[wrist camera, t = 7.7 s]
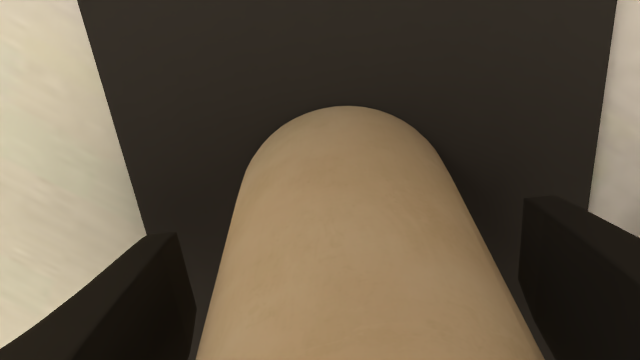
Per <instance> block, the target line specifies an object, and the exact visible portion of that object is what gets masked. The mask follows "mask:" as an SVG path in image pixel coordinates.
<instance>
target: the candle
mask: <svg viewBox="0 0 640 360" xmlns="http://www.w3.org/2000/svg"><path fill="white" fill-rule="evenodd" d="M196 360H545V359H544V357H543V355H542V353H541V351H540V349H539V347H538V345H537V344H536V342H535V340H534V338H533V336H532V334H531V332H530V330H529V328H528V326H527V324H526V322H525V320H524V318H523V316H522V314H521V312H520V310H519V308H518V306H517V304H516V303H515V301H514V299H513V297H512V295H511V293H510V291H509V289H508V287H507V285H506V283H505V281H504V279H503V277H502V275H501V273H500V271H499V269H498V267H497V265H496V264H495V262H494V260H493V258H492V256H491V254H490V252H489V250H488V248H487V246H486V244H485V242H484V240H483V238H482V236H481V234H480V232H479V230H478V228H477V226H476V224H475V223H474V221H473V219H472V217H471V215H470V213H469V211H468V209H467V207H466V205H465V203H464V201H463V199H462V197H461V195H460V193H459V191H458V189H457V187H456V185H455V183H454V182H453V180H452V178H451V176H450V174H449V172H448V170H447V169H446V167H445V165H444V163H443V162H442V160H441V158H440V157H439V155H438V153H437V152H436V150H435V149H434V148H433V146H432V145H431V144H430V143H429V142H428V140H427V139H426V138H424V137H423V136H422V135H421V134H420V133H419V132H418V131H417V130H416V129H414V128H413V127H412V126H410V125H409V124H407V123H406V122H404V121H403V120H401V119H399V118H397V117H395V116H393V115H391V114H388V113H385V112H382V111H379V110H376V109H371V108H366V107H358V106H334V107H329V108H323V109H318V110H315V111H312V112H309V113H306V114H303V115H301V116H299V117H297V118H295V119H293V120H291V121H289V122H288V123H286V124H285V125H283V126H281V127H280V128H279V129H278V130H277V131H275V132H274V133H273V134H272V135H271V136H270V137H269V138H268V139H267V140H266V141H265V142H264V143H263V144H262V145H261V147H260V148H259V150H258V151H257V152H256V154H255V155H254V157H253V158H252V160H251V162H250V164H249V165H248V167H247V169H246V172H245V175H244V178H243V181H242V184H241V187H240V190H239V194H238V197H237V200H236V204H235V208H234V212H233V216H232V220H231V224H230V228H229V232H228V235H227V239H226V243H225V247H224V251H223V255H222V259H221V263H220V266H219V270H218V274H217V278H216V282H215V286H214V290H213V294H212V298H211V301H210V305H209V309H208V313H207V317H206V321H205V325H204V329H203V332H202V336H201V340H200V344H199V348H198V352H197V356H196Z"/></svg>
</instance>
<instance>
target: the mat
mask: <svg viewBox="0 0 640 360" xmlns="http://www.w3.org/2000/svg"><path fill="white" fill-rule="evenodd" d="M77 1H78V5H79V8H80V11H81V15H82V18H83V22H84V25H85V28H86V32H87V35H88V38H89V42H90V45H91V48H92V52H93V55H94V59H95V62H96V65H97V69H98V72H99V75H100V79H101V82H102V85H103V89H104V92H105V96H106V99H107V102H108V106H109V109H110V112H111V116H112V119H113V123H114V126H115V129H116V133H117V136H118V139H119V143H120V146H121V149H122V153H123V156H124V160H125V163H126V166H127V170H128V173H129V176H130V180H131V183H132V187H133V190H134V193H135V197H136V200H137V203H138V207H139V210H140V213H141V217H142V220H143V224H144V227H145V230H146V234H147V235H148V234H156V233H167V232H177V235H178V239H179V243H180V246H181V250H182V254H183V258H184V261H185V265H186V269H187V273H188V276H189V280H190V284H191V288H192V291H193V295H194V299H195V303H196V306H197V312H196V319H195V326H194V333H193V339H192V344H191V350H190V354H189V358H188V360H196V356H197V352H198V348H199V344H200V340H201V336H202V332H203V329H204V325H205V321H206V317H207V313H208V309H209V305H210V301H211V298H212V294H213V290H214V286H215V282H216V278H217V274H218V270H219V266H220V263H221V259H222V255H223V251H224V247H225V243H226V239H227V235H228V232H229V228H230V224H231V220H232V216H233V212H234V208H235V204H236V200H237V197H238V194H239V190H240V187H241V184H242V181H243V178H244V175H245V172H246V169H247V167H248V165H249V164H250V162H251V160H252V158H253V157H254V155H255V154H256V152H257V151H258V150H259V148H260V147H261V145H262V144H263V143H264V142H265V141H266V140H267V139H268V138H269V137H270V136H271V135H272V134H273V133H274V132H275V131H277V130H278V129H279V128H280V127H281V126H283V125H285V124H286V123H288V122H289V121H291V120H293V119H295V118H297V117H299V116H301V115H303V114H306V113H309V112H312V111H315V110H318V109H323V108H329V107H334V106H358V107H366V108H371V109H376V110H379V111H382V112H385V113H388V114H391V115H393V116H395V117H397V118H399V119H401V120H403V121H404V122H406V123H407V124H409V125H410V126H412V127H413V128H414V129H416V130H417V131H418V132H419V133H420V134H421V135H422V136H423V137H424V138H426V139H427V140H428V142H429V143H430V144H431V145H432V146H433V148H434V149H435V150H436V152H437V153H438V155H439V157H440V158H441V160H442V162H443V163H444V165H445V167H446V169H447V170H448V172H449V174H450V176H451V178H452V180H453V182H454V183H455V185H456V187H457V189H458V191H459V193H460V195H461V197H462V199H463V201H464V203H465V205H466V207H467V209H468V211H469V213H470V215H471V217H472V219H473V221H474V223H475V224H476V226H477V228H478V230H479V232H480V234H481V236H482V238H483V240H484V242H485V244H486V246H487V248H488V250H489V252H490V254H491V256H492V258H493V260H494V262H495V264H496V265H497V267H498V269H499V271H500V273H501V275H502V277H503V279H504V281H505V283H506V285H507V287H508V289H509V291H510V293H511V295H512V297H513V299H514V301H515V303H516V304H517V306H518V308H519V310H520V312H521V314H522V316H523V318H524V320H525V322H526V324H527V326H528V328H529V330H530V332H531V334H532V336H533V338H534V340H535V342H536V344H537V345H538V347H539V349H540V351H541V353H542V355H543V357H544V359H545V360H555V358H554V356H553V355H552V353H551V351H550V349H549V347H548V346H547V344H546V342H545V340H544V338H543V337H542V335H541V333H540V331H539V329H538V327H537V326H536V324H535V322H534V320H533V317H532V315H531V312H530V310H529V307H528V305H527V302H526V300H525V297H524V294H523V292H522V289H521V286H520V284H519V281H518V270H519V257H520V243H521V230H522V217H523V204H524V198H530V197H540V196H550V195H555V196H558V197H560V198H562V199H565V200H567V201H569V202H571V203H573V204H575V205H577V206H579V207H581V208H583V209H585V210H587V211H588V204H589V197H590V190H591V182H592V175H593V168H594V161H595V154H596V147H597V140H598V132H599V125H600V118H601V111H602V104H603V97H604V89H605V82H606V75H607V68H608V61H609V54H610V46H611V39H612V32H613V25H614V18H615V11H616V4H617V0H77Z"/></svg>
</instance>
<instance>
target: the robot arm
mask: <svg viewBox="0 0 640 360" xmlns="http://www.w3.org/2000/svg"><path fill="white" fill-rule="evenodd" d="M518 281H519V284H520V286H521V289H522V292H523V294H524V297H525V300H526V302H527V305H528V307H529V310H530V312H531V315H532V317H533V320H534V322H535V324H536V326H537V327H538V329H539V331H540V333H541V335H542V337H543V338H544V340H545V342H546V344H547V346H548V347H549V349H550V351H551V353H552V355H553V356H554V358H555V360H640V238H638V237H636V236H634V235H632V234H630V233H629V232H627V231H625V230H623V229H621V228H619V227H617V226H615V225H613V224H611V223H609V222H607V221H606V220H604V219H602V218H600V217H598V216H596V215H594V214H592V213H590V212H588V211H587V210H585V209H583V208H581V207H579V206H577V205H575V204H573V203H571V202H569V201H567V200H565V199H562V198H560V197H558V196H555V195H550V196H540V197H530V198H524V204H523V217H522V230H521V243H520V257H519V270H518ZM196 312H197V306H196V303H195V299H194V295H193V291H192V288H191V284H190V280H189V276H188V273H187V269H186V265H185V261H184V258H183V254H182V250H181V246H180V243H179V239H178V235H177V232H167V233H156V234H148V235H146V236H145V237H144V238H142V239H141V240H139V241H138V242H137V243H136V244H134V245H133V246H132V247H131V248H130V249H128V250H127V251H126V252H125V253H124V254H123V255H121V256H120V257H119V258H118V259H117V260H115V261H114V262H113V263H112V264H111V265H110V266H108V267H107V268H106V269H105V270H104V271H103V272H101V273H100V274H99V275H98V276H97V277H95V278H94V279H93V280H92V281H91V282H90V283H88V284H87V285H86V286H85V287H84V288H82V289H81V290H80V291H79V292H77V293H76V294H75V295H74V296H72V297H71V298H70V299H68V300H67V301H66V302H65V303H63V304H62V305H61V306H59V307H58V308H57V309H56V310H54V311H53V312H52V313H50V314H49V315H48V316H47V317H45V318H44V319H43V320H41V321H40V322H39V323H37V324H36V325H35V326H33V327H32V328H30V329H29V330H28V331H26V332H25V333H23V334H22V335H21V336H19V337H18V338H16V339H15V340H13V341H12V342H10V343H9V344H7V345H6V346H4V347H3V348H1V349H0V360H188V358H189V354H190V350H191V344H192V339H193V333H194V326H195V319H196Z"/></svg>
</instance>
